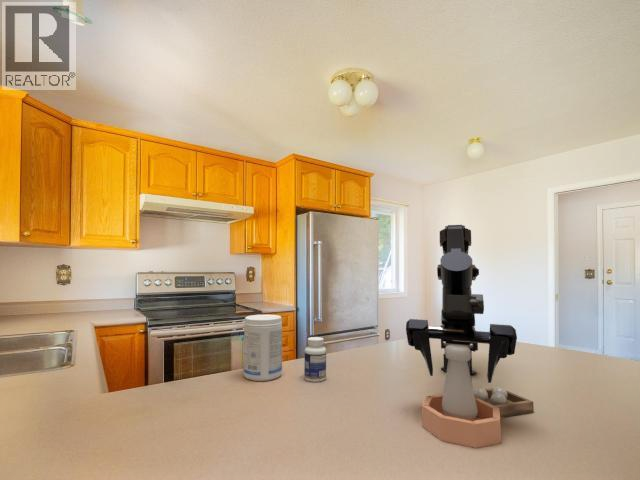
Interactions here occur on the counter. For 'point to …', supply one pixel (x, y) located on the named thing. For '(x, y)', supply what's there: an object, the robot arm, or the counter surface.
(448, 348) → the salt shaker
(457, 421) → the bowl
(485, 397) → the pebble
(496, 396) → the pebble
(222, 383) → the counter surface
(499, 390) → the white ball
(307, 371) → the pill bottle
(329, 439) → the counter surface
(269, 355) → the supplement tub
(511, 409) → the pebble tray
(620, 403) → the counter surface
